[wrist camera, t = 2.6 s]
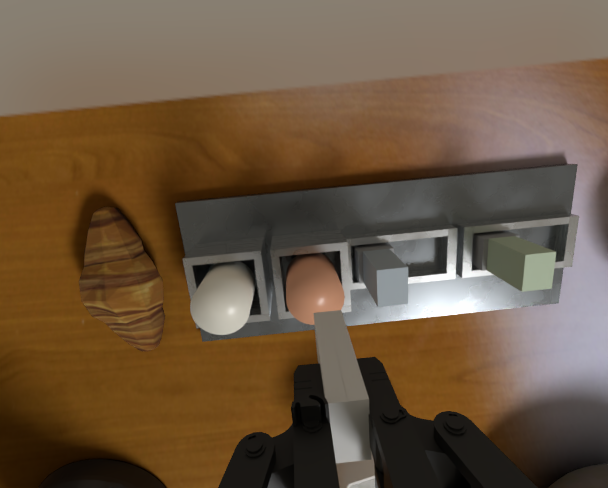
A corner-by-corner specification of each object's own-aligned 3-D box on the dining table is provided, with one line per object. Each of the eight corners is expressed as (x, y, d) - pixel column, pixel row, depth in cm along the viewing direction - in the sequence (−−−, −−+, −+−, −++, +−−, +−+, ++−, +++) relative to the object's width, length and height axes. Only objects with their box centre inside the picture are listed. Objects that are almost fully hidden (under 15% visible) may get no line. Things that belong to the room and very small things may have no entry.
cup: (326, 402, 35) (337, 475, 27) (419, 402, 36) (456, 473, 28) (321, 455, 37) (331, 537, 29) (410, 454, 37) (442, 534, 30)
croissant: (71, 211, 28) (27, 224, 24) (149, 197, 28) (121, 207, 24) (120, 347, 32) (91, 382, 27) (190, 335, 32) (173, 368, 27)
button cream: (210, 307, 27) (195, 337, 23) (201, 262, 26) (185, 284, 22) (258, 302, 27) (253, 331, 23) (252, 257, 26) (245, 278, 22)
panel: (205, 335, 32) (190, 368, 27) (178, 201, 28) (156, 212, 24) (550, 298, 33) (596, 324, 28) (567, 163, 29) (623, 166, 24)
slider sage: (470, 263, 30) (516, 292, 24) (472, 233, 29) (520, 255, 23) (503, 260, 30) (557, 287, 24) (505, 230, 29) (561, 251, 23)
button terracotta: (288, 299, 28) (289, 327, 23) (283, 253, 26) (283, 274, 22) (336, 294, 28) (346, 321, 23) (333, 248, 27) (342, 268, 22)
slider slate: (354, 275, 30) (372, 307, 24) (353, 245, 29) (370, 271, 23) (388, 272, 30) (413, 303, 24) (387, 242, 29) (413, 266, 23)
